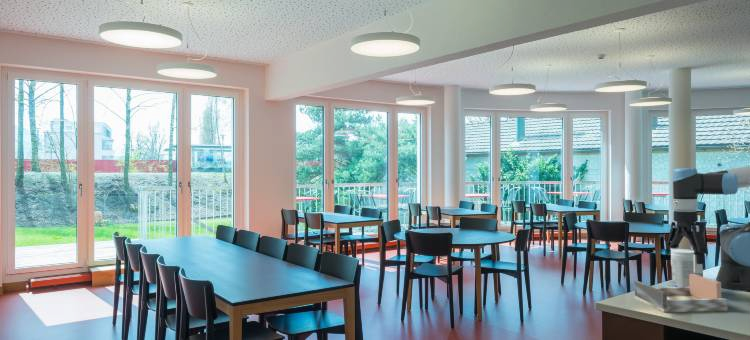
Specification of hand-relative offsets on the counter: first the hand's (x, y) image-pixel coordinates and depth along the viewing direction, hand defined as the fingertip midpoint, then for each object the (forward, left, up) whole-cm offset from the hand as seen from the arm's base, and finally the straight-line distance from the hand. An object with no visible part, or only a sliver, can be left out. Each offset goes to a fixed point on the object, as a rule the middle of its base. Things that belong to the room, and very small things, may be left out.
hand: (686, 269), depth 187 cm
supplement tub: (0, 0, -8) cm, 8 cm away
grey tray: (+13, +17, -8) cm, 23 cm away
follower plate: (+4, +17, -7) cm, 19 cm away
